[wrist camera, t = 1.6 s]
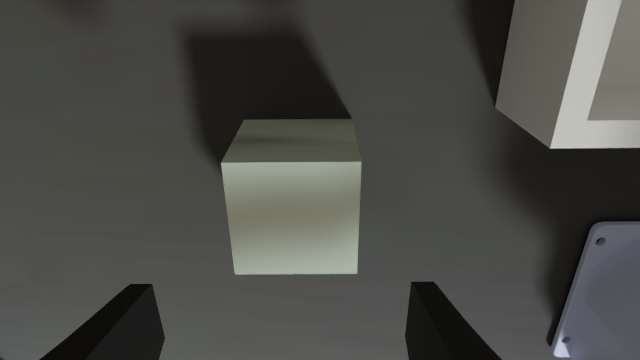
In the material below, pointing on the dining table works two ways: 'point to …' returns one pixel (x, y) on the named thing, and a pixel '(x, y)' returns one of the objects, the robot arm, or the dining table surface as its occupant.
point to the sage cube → (293, 196)
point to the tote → (574, 72)
